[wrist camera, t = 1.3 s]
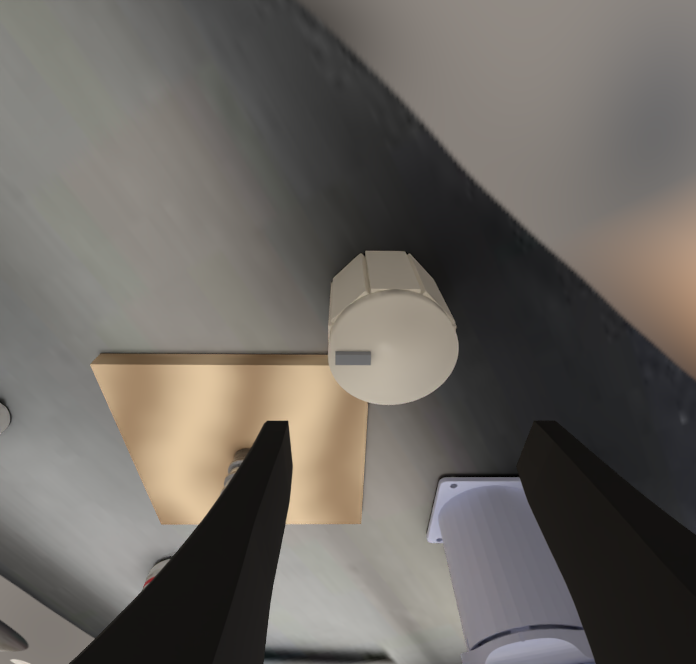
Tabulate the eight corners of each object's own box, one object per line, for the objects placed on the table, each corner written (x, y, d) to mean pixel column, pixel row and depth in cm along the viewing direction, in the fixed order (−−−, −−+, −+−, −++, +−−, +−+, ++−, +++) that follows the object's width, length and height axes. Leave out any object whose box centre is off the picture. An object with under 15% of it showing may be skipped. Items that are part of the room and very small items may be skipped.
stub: (263, 446, 23) (251, 497, 20) (266, 468, 24) (256, 519, 21) (230, 446, 23) (213, 497, 20) (234, 468, 24) (219, 519, 21)
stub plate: (369, 355, 21) (370, 365, 20) (360, 511, 29) (361, 524, 28) (100, 353, 21) (90, 364, 20) (166, 511, 29) (161, 524, 28)
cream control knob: (439, 251, 18) (472, 302, 13) (425, 342, 20) (448, 409, 16) (330, 250, 18) (326, 301, 13) (331, 341, 20) (328, 408, 16)
